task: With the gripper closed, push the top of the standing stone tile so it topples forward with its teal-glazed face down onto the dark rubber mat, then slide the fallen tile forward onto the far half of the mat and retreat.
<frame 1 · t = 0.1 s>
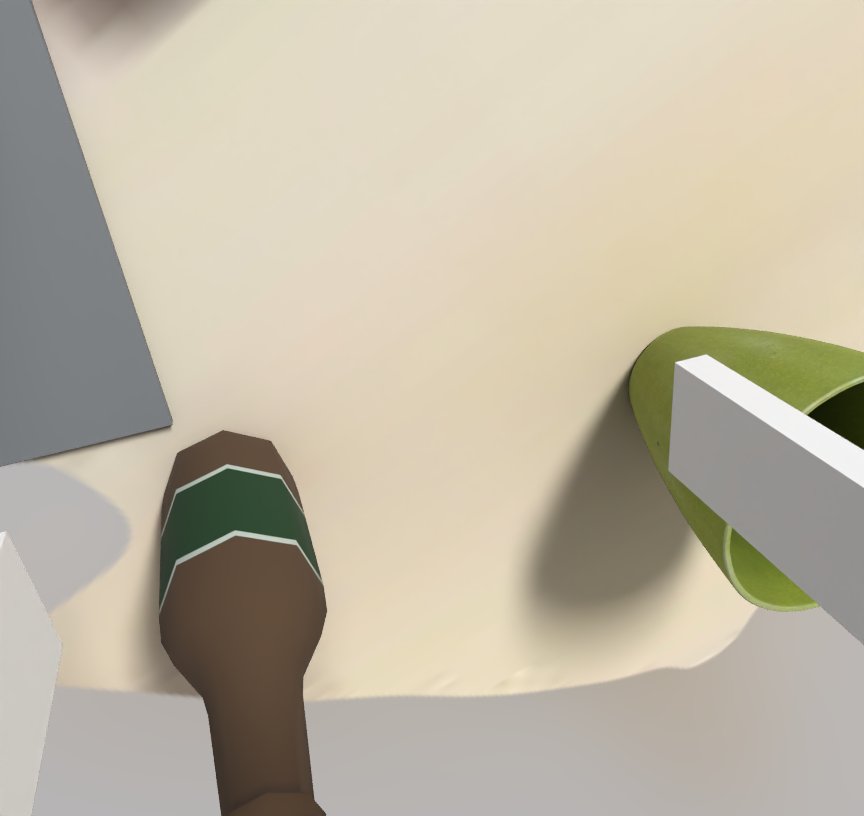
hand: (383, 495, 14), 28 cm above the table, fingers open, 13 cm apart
flower pot: (671, 376, 52), on the table
beer bottle: (229, 480, 45), on the table
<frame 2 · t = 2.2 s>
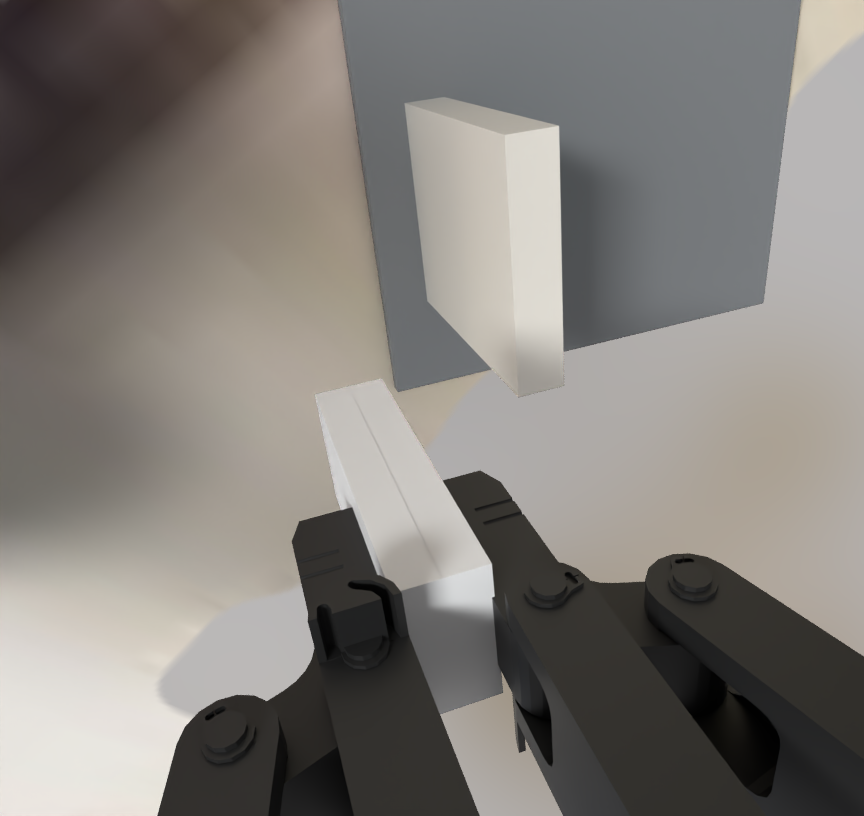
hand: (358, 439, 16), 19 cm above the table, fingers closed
tile: (435, 205, 34), point 1 cm above the table, touching mat
mat: (585, 173, 36), on the table
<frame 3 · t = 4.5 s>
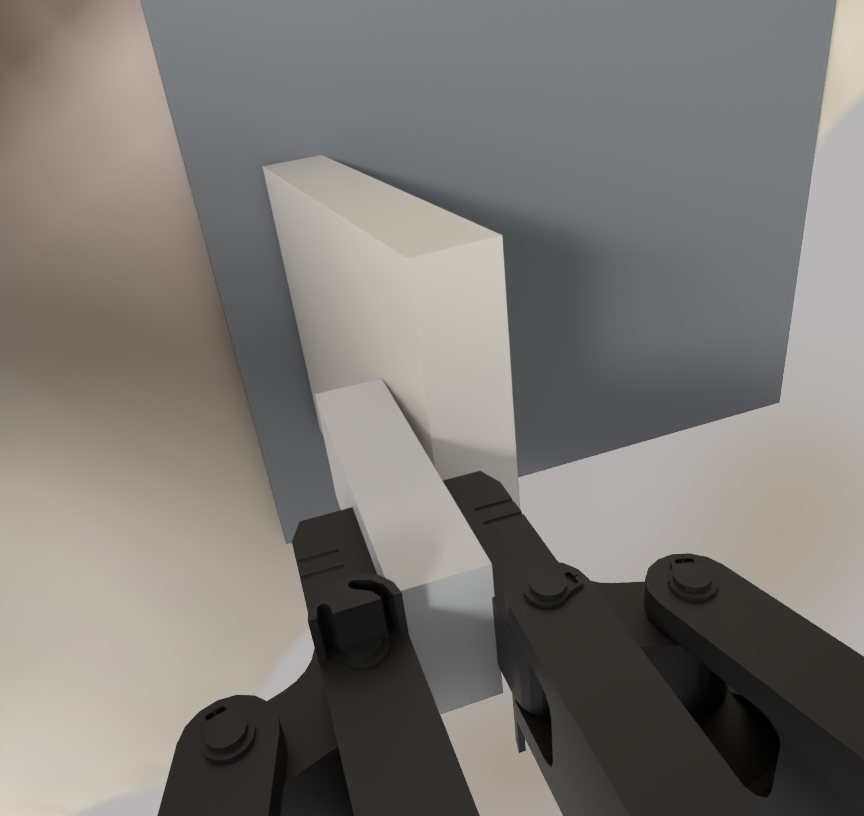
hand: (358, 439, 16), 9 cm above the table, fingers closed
tile: (320, 303, 24), point 1 cm above the table, tilted 6°, touching gripper, mat
mat: (537, 249, 26), on the table
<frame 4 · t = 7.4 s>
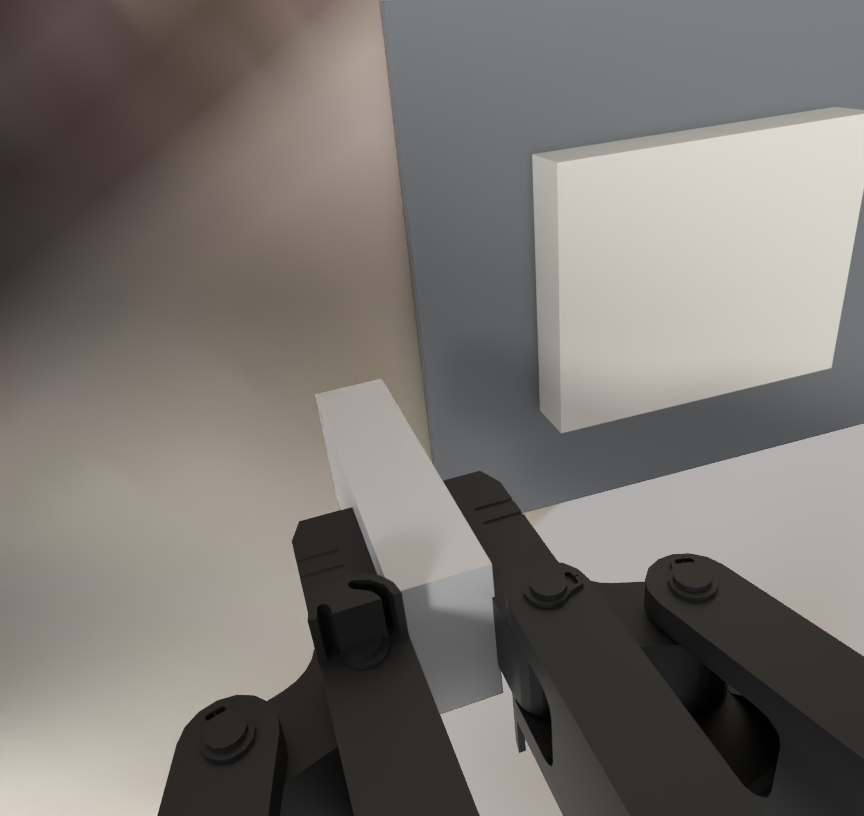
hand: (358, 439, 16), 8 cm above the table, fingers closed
tile: (547, 301, 24), point 2 cm above the table, tilted 90°, touching mat
mat: (705, 252, 27), on the table
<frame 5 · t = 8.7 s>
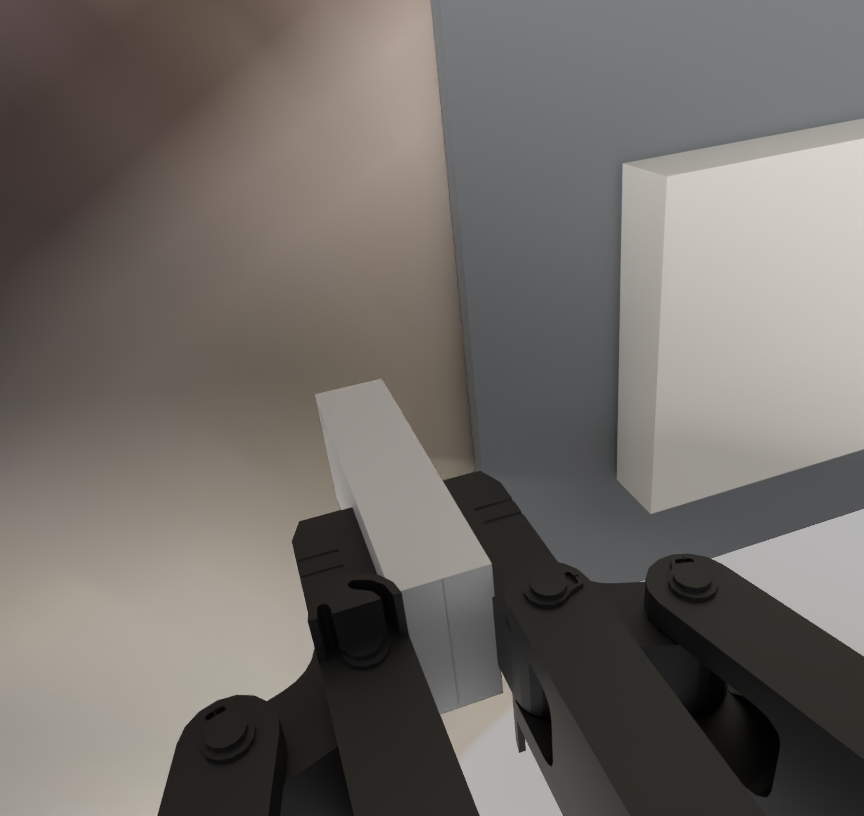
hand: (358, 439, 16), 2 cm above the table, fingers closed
tile: (637, 352, 18), point 2 cm above the table, tilted 90°, touching mat
mat: (818, 278, 21), on the table
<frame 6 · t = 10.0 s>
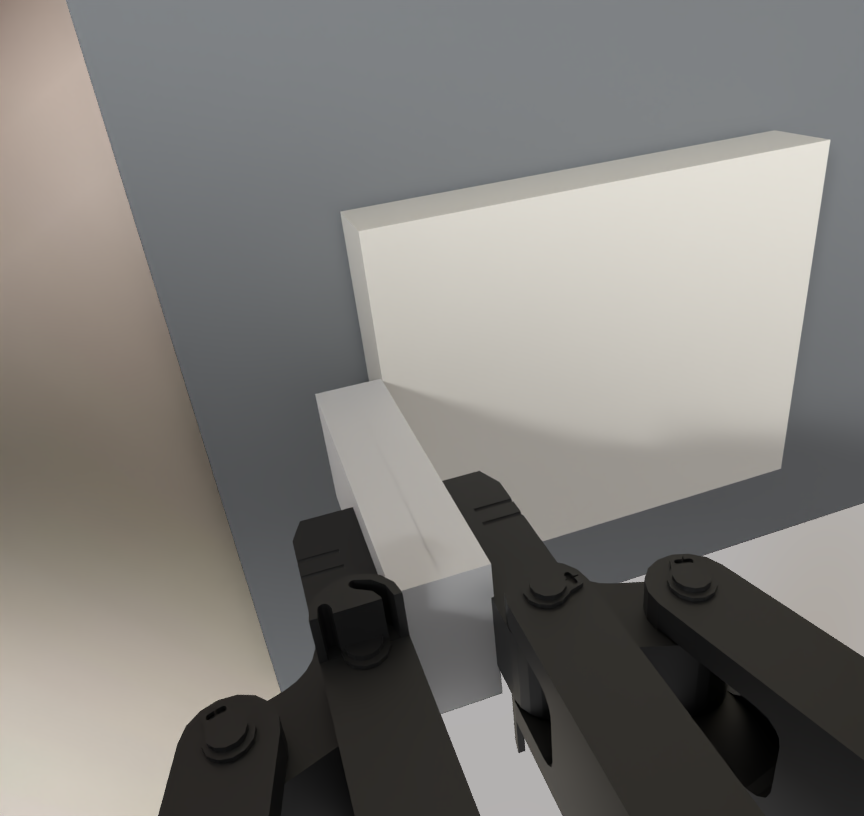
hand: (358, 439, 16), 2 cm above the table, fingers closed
tile: (380, 411, 17), point 2 cm above the table, tilted 90°, touching gripper
mat: (608, 323, 20), on the table
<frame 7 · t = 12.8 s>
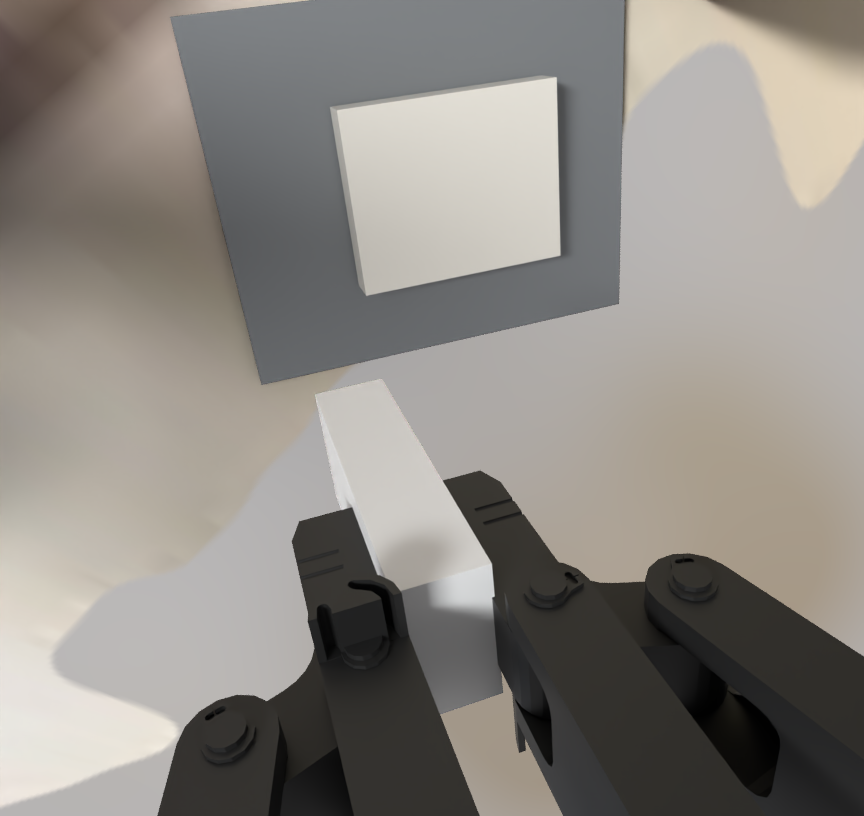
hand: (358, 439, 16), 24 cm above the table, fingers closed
tile: (348, 204, 36), point 2 cm above the table, tilted 90°, touching mat
mat: (430, 183, 39), on the table
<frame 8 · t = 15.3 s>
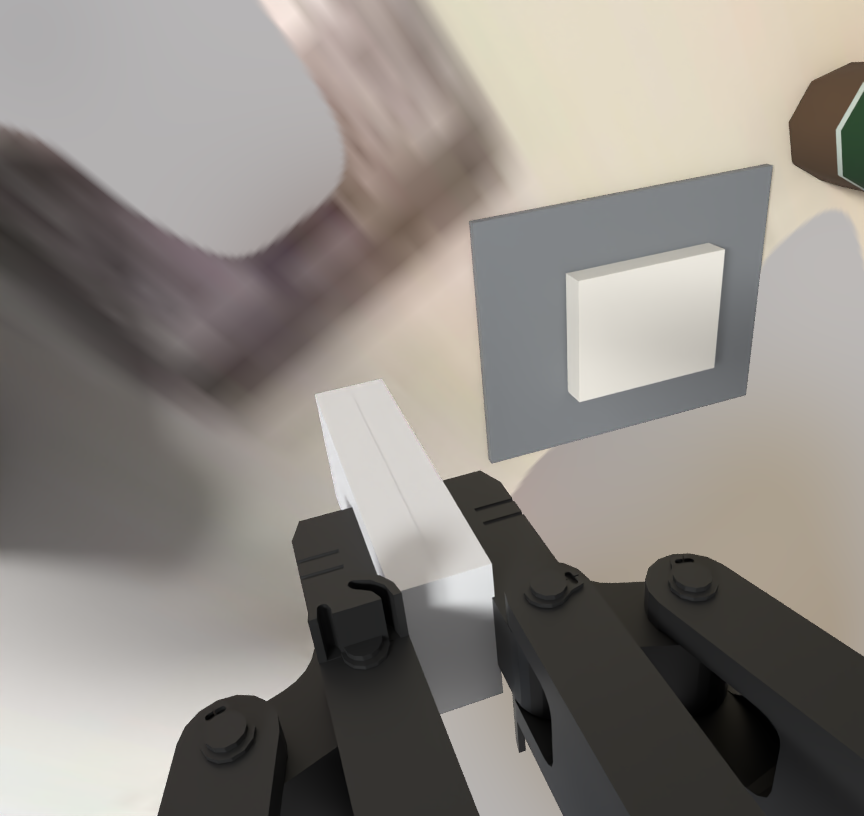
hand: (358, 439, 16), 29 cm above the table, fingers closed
tile: (572, 339, 50), point 2 cm above the table, tilted 90°, touching mat
mat: (622, 317, 53), on the table
beer bottle: (828, 122, 51), on the table
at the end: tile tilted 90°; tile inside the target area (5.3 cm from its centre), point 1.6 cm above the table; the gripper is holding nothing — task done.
